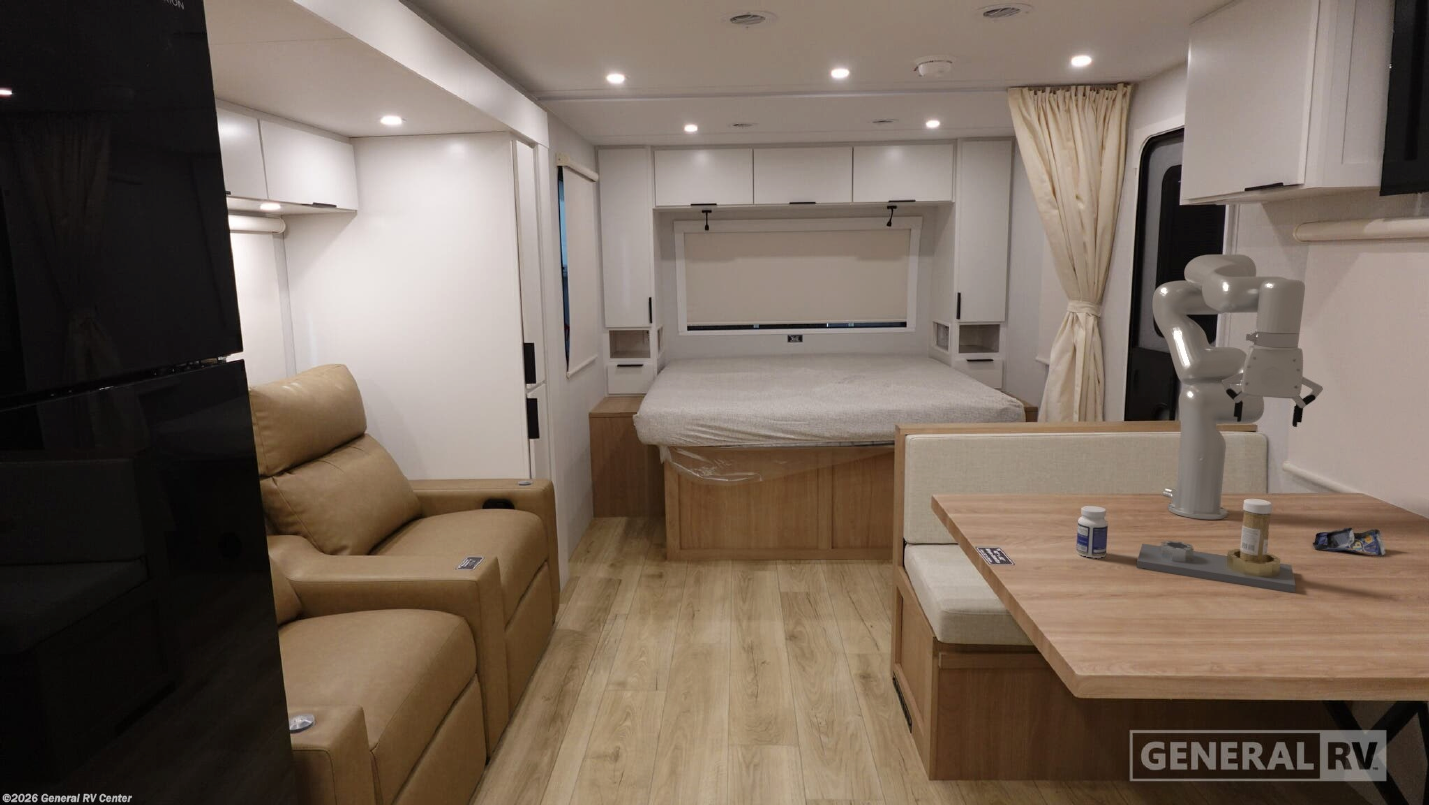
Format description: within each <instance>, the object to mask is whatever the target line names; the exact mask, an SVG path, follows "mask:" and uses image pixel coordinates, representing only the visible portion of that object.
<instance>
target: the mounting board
mask: <svg viewBox="0 0 1429 805" xmlns="http://www.w3.org/2000/svg"><path fill="white" fill-rule="evenodd" d="M1160 546H1161V545H1156V544H1155V545H1154V544H1149V543H1141V547H1140V550H1139V554H1138V558H1137V561H1136V568H1137V569H1141V568H1146V569H1145V570H1147V569H1149V570H1148V571H1153V572H1154V571H1155V572H1159V571H1161V573H1167V574H1173V575H1174V574H1175V575H1178V576H1184V577H1185V576H1186V577H1191V578H1198V579H1205V580H1209V581H1210V580H1212V581H1216V582H1223V583H1230V584H1235V585H1241V586H1248V587H1256V588H1261V589H1266V590H1267V589H1268V590H1272V591H1273V590H1274V591H1278V592H1279V591H1281V592H1286V593H1292V594H1295V592H1296V581H1295V575H1294V572H1293V567H1292V564H1286V563H1280V569H1279V575H1277V576H1273V577H1257V576H1251V575H1245V574H1242V573H1239V572H1236V571H1233V570H1231V569H1230V568H1228V567H1227V566H1226V565H1227V555H1226V554H1225V555H1224V554H1218V553H1217V554H1216V553H1211V552H1210V553H1209V552H1203V551H1197V550H1193V561H1189V562H1176V561H1170V560H1167V559H1164V558H1162V557H1161V555H1160Z"/></svg>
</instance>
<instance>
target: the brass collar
mask: <svg viewBox="0 0 1429 805" xmlns="http://www.w3.org/2000/svg"><path fill="white" fill-rule="evenodd" d="M1240 551H1241V550H1240V548H1233V549H1231V550H1230V549H1229V550H1228V551H1227V555H1226V556H1227V565H1226V566H1227V567H1228V568H1230V569H1231V570H1233V571H1236V572H1239V573H1242V574H1245V575H1251V576H1257V577H1273V576H1277V575H1279V569H1280V564H1281V558H1280V557H1278V556H1276V555H1275V554H1272V553H1268V552H1267V555H1266V562H1254V561H1248V560H1244V559H1241V558H1240Z"/></svg>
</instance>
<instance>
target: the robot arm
mask: <svg viewBox="0 0 1429 805" xmlns="http://www.w3.org/2000/svg"><path fill="white" fill-rule="evenodd" d="M1183 272H1184V279H1185V280H1174V281H1169V282H1165V283H1163V284H1160V285H1159V286H1158V287H1157V288H1156V289H1155V291H1154V292H1153V296H1152V303H1151V304H1152V312H1153V317H1154V321H1155V324H1156V326H1157V327H1158V329H1159V330H1160V332H1161V333H1162V336H1163V337H1164V338H1165V341H1166V344H1167V345H1168V349H1169V352H1170V355H1171V359H1172V363H1173V366H1174V369H1175V373H1176V375H1177V378H1178V379H1179V381H1180V382H1181V383H1183V384H1184V385H1187V386H1186V387H1184V388H1183V389H1182V390H1181V392H1180V393H1179V397H1178V410H1179V420H1180V439H1179V452H1178V453H1179V454H1178V464H1177V465H1178V466H1177V476H1176V478H1177V479H1176V489H1174V488H1170V487H1166V488H1165V489H1164V491H1163V492H1162V497H1165V498H1170V499H1171V501H1170V502H1169V503H1168V504H1167V510H1168V511H1169V512H1171V513H1172V514H1175V515H1179V516H1182V517H1185V518H1191V519H1199V520H1222V519H1225V518H1226V517H1228V510H1227V509H1226V508H1224V507H1223V506H1222V504H1221V503H1222V492H1223V483H1224V482H1223V481H1224V474H1225V473H1224V471H1225V462H1226V461H1225V458H1226V450H1227V448H1226V447H1227V446H1226V445H1227V443H1226V440H1225V437H1224V435H1223V434H1222V433H1221V431H1220V430H1219V429H1218V427H1217V425H1225V424H1226V425H1227V424H1229V425H1230V424H1231V425H1232V424H1233V425H1235V424H1236V425H1237V424H1238V425H1246V424H1247V425H1248V424H1253V423H1256V422H1257V421H1259V420H1260V419H1261V418H1262V417H1263V415H1264V411H1265V400H1264V398H1274V399H1275V398H1277V399H1292V400H1293V402H1295V405H1294V407H1293V413H1292V414H1293V415H1292V422H1291V424H1292V427H1293V428H1294V427H1295V428H1297V427H1298V423H1300V424H1301V423H1302V421H1303V413H1304V408H1306V406H1308V405H1309V404H1311V403H1312V402H1314V401H1315V400H1316V399H1317V397H1318V396H1319V395H1320V394H1321V392H1323V390H1324V388H1323V386H1322V385H1320V384H1319V383H1316V382H1314V381H1312V380H1311V379H1308V378H1307V377H1304V376H1303V375H1304V374H1303V373H1304V353H1303V349H1302V348H1300V347H1299V340H1300V333H1301V326H1302V324H1301V323H1302V318H1303V308H1304V301H1305V291H1306V285H1305V283H1304V282H1303V281H1302V280H1298V279H1291V278H1290V279H1288V278H1286V277H1283V276H1260V275H1259V276H1257V266H1256V263H1255V262H1254V260H1253V259H1252V258H1251V257H1250V256H1249V255H1245V254H1238V253H1237V254H1204V255H1200V256H1197V257H1194V258H1193V259H1191V260H1190V261H1189V262H1188V263H1187V264H1186V266H1185V268H1184V271H1183ZM1225 313H1231V314H1233V313H1236V314H1237V313H1238V314H1239V313H1240V314H1241V313H1244V314H1245V313H1246V314H1247V313H1249V314H1250V313H1256V322H1255V329H1254V332H1252V333H1246V335H1245V336H1246V337H1245V340H1246V341H1249V342H1252V343H1253V345H1250V346H1249V347H1248V348H1247V352H1245V351H1244V350H1242V349H1240V348H1237V347H1230V346H1229V347H1228V346H1223V347H1222V346H1213V345H1210V343H1209V342H1208V338H1207V335H1206V332H1205V330H1203V328H1202V327H1201V326H1200V324H1198V323H1197V322H1196V321H1195V320H1193V319H1191V318H1190V317H1189V316H1188V315H1222V314H1225ZM1303 385H1304V386H1305V387H1307V388H1309V389H1311V392H1310V393H1309V394H1308V395H1306V396H1304V397H1302V396H1301V392H1302V386H1303Z"/></svg>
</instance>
